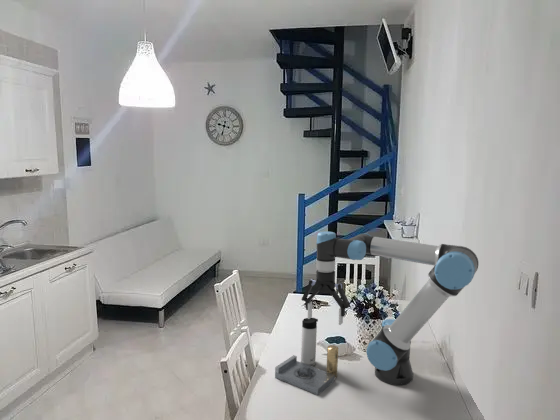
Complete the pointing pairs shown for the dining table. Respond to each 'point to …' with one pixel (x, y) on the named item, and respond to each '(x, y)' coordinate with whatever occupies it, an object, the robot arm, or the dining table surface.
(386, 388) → the dining table surface
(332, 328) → the dining table surface
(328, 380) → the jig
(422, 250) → the robot arm
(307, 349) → the travel mug
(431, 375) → the dining table surface
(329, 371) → the gold metal cylinder
